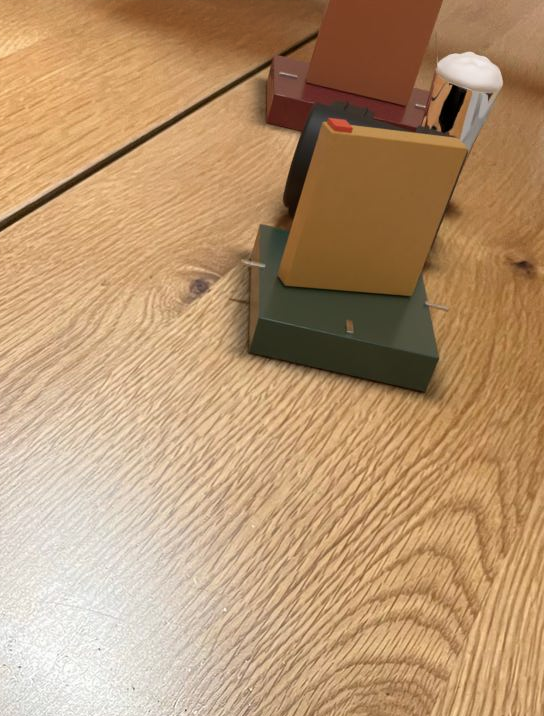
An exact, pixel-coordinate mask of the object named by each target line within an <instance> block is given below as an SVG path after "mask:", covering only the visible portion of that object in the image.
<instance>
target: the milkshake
mask: <svg viewBox="0 0 544 716" xmlns="http://www.w3.org/2000/svg"><path fill="white" fill-rule="evenodd" d="M503 86H504V80H503V75H502V73H501V70H500V68H499V66H497V64H495V63H493V62H492V61H491V60H490V59H489V58H488V57H486V56H484V55H478V54H476V53H475V52H473V51H465V52H462V53H457V52H456V53H451V54H448V55H446V56H445V57H443V58H441V59H440V60H438V32H437V30H435V69H434V72H433V76H432V80H431V85H430V88H429V91H430V92H429V96H428V99H427V103H426V107H425V111H424V115H423V119H422V122H421V126H423V127H426V125H428V126H429V127H430V128H429V129H433V130H436V131H439V132H442V133H445V132H446V131H448V132H449V135H452V136H455V137H457V138H458V139H459V140H460V141H461V142H462V143H463V144H464V145H465V146H466V147H467V148H468V154H467V157H466V160H465V163H464V165H463V168H462V171H461V173H460V175H461V174H462V172H463V170H464V167H465V165H466V163H467V161H468V159H469V157H470V154H471V152H472V150H473V148H474V145H475V143H476V141H477V139H478V137H479V135H480V133H481V131H482V129H483V127H484V125H485V123H486V122H487V119H488V117H489V115H490V113H491V111H492V109H493V107H494V105H495V102H496V100H497V98H498V97H499V94H500V92H501V90H502V88H503Z"/></svg>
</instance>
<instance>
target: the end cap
mask: <svg viewBox="0 0 544 716" xmlns="http://www.w3.org/2000/svg"><path fill="white" fill-rule="evenodd" d="M374 114H375V112H374V111H371V110H368V107H365V108H361V107H358V106H355V105H351V104H349V101H345V102H342V101H337V100H336V101H332V102H331V103H330V104H329V105H325V104H322V103H318V102H317V103H315V104H314V105H313V106H312V108H311V110H310V112H309V114H308V117H307V119H306V122H305V124H304V127H303V129H302V131H300V134H299V138H298V141H297V144H296V147H295V149H294V152H293V156H292V160H291V162H290V167H289V170H288V174H287V177H286V180H285V185H284V190H283V195H282V203H283V206H284V207H285V208H287V216H288V217H290V218H293V219H294V217H295V213H296V210H297V207H298V203H299V200H300V197H301V193H302V190H303V186H304V183H305V180H306V176H307V173H308V170H309V166H310V163H311V160H312V156H313V153H314V150H315V146H316V143H317V139H318V136H319V133H320V129H321V126H322V123H323V122H327V121H328V118H334V119H343V120H346V121H347V122H348V123H349V124H350V125H355V126H363V127H371V128H379V129H388V130H396V131H404V132H412V133H421V134H429V135H437V136H445V137H453V138H457V137H455V136H452V135H449V132H448V131H446V132H445V133H442V132H439V131H436V130H433V129H429V128H430V127H429V126H428V125H426V127H423V126H420V125H418V127H417V129H416V131H415V132H413V131H409V130H406V129H403V128H400V127H396V126H393V125H390V124H387V123H383V122H380V121H377V120H374V119H373V117H374ZM467 154H468V150H467V153H466V155H465V158H464V160H463V163H462V166H461V168H460V171H459V174H458V176H457V179H456V181H455V184H454V187H453V189H452V192H451V195H450V197H449V200H448V202H447V205H446V208H445V210H444V213H443V216H442V218H441V221H440V223H439V226H438V229H437V231H436V234H435V237H434V239H433V242H432V245H431V247H430V250H429V252H430V251H431V250H432V249H433V246H434V245H435V241H436V240H437V239H436V238H437V237H438V233H439V232H440V229H441V226H442V223H443V221H444V218H445V216H446V214H447V210H448V208H449V205H450V203H451V200H452V197H453V194H454V192H455V190H456V187H457V185H458V181H459V179H460V176H461V174H462V172H463V170H462V168H463V165H464V163H465V160H466V157H467ZM465 164H466V163H465ZM464 166H465V165H464ZM463 169H464V168H463ZM461 171H462V172H461ZM460 173H461V174H460Z"/></svg>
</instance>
